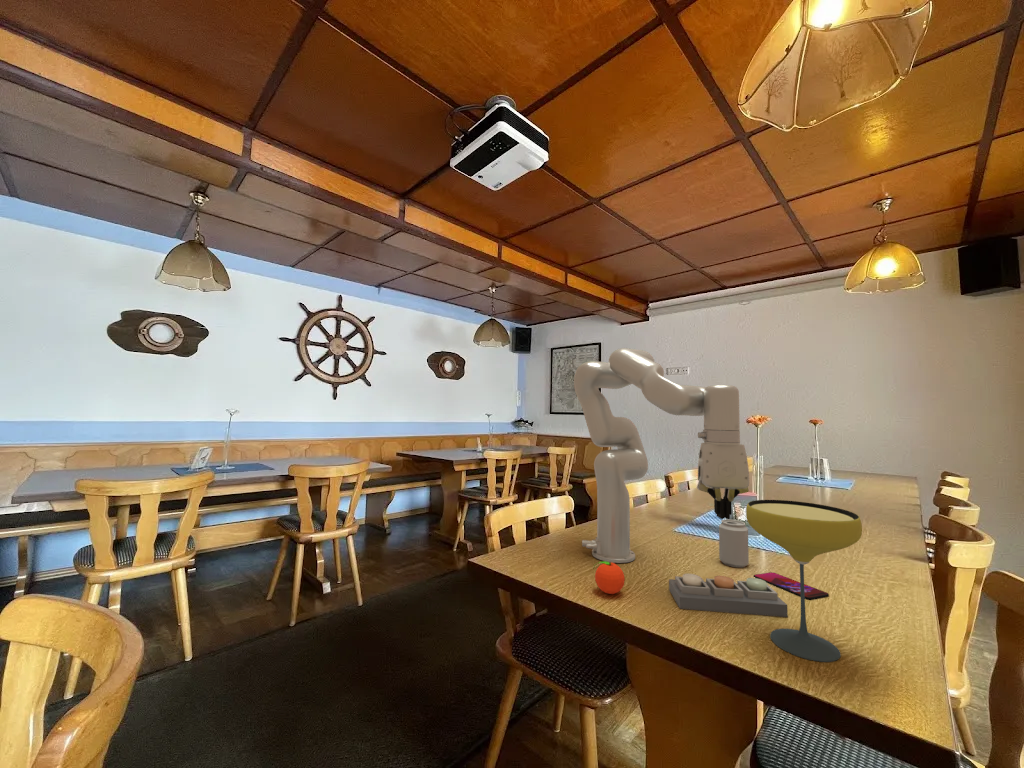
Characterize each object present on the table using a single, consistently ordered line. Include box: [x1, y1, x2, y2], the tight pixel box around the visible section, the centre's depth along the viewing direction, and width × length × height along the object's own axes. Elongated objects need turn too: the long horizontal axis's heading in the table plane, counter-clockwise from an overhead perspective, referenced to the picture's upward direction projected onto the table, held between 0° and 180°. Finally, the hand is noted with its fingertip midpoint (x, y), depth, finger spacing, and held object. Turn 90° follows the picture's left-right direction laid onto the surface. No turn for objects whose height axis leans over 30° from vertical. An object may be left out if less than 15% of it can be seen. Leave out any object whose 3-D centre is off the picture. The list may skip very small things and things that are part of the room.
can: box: [718, 518, 750, 568], centre depth 121 cm, size 8×8×12 cm
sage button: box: [746, 577, 768, 592], centre depth 95 cm, size 4×4×2 cm
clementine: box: [593, 561, 626, 595], centre depth 100 cm, size 8×7×7 cm
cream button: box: [682, 573, 702, 587], centre depth 97 cm, size 4×4×2 cm
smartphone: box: [753, 571, 830, 601], centre depth 105 cm, size 8×1×15 cm
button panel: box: [668, 575, 789, 618], centre depth 95 cm, size 22×10×4 cm, turn 82°
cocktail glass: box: [745, 499, 863, 663], centre depth 79 cm, size 18×18×25 cm
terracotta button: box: [713, 575, 735, 589], centre depth 96 cm, size 4×4×2 cm
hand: (722, 517), depth 97 cm, fingers closed
